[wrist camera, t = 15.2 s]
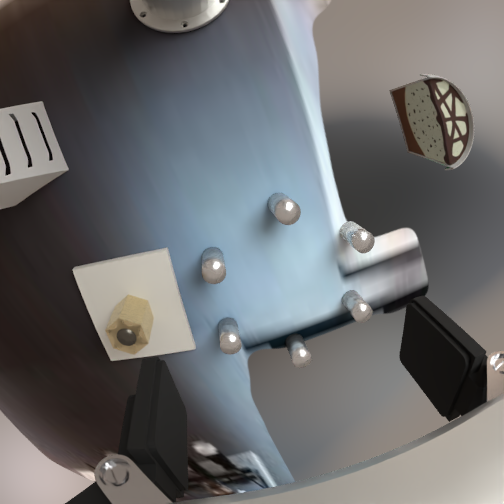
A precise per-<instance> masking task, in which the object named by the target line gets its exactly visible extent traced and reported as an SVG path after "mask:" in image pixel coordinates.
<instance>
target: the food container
mask: <svg viewBox="0 0 504 504" xmlns="http://www.w3.org/2000/svg"><path fill="white" fill-rule="evenodd" d="M420 75H421V76H426V77H427V78H425V79H422V80H419V81H416V82H413V83H410V84H407V85H404V86H401V87H398V88H395V89H392V90H390V94H391V97H392V100H393V103H394V106H395V109H396V112H397V116H398V118H399V122H400V126H401V129H402V133H403V137H404V140H405V144H406V148H407V152H408V153H411V154H414V155H417V156H420V157H423V158H426V159H428V160H432V161H434V162H437V163H440V164H442V165H445V166H447V168H445V170H452V169H454V168H456V167H458V166H459V165H460V164H462V163H463V161H464V160H465V159H466V158H467V156H468V154H469V152H470V149H471V147H472V143H473V138H474V120H473V115H472V111H471V108H470V105H469V103H468V101H467V99H466V97H465V96H464V94H463V93H462V91H461V90H460V89H459V88H458V87H457V86H456V85H455V84H454V83H452V82H451V81H449V80H447V79H445V78H443V77H440V76H437V75H430V74H420Z"/></svg>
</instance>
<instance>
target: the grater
mask: <svg viewBox="0 0 504 504" xmlns="http://www.w3.org/2000/svg"><path fill="white" fill-rule="evenodd" d="M31 112H35V113H36V115H37V116H38V118H39V120H40V123H41V126H42V128H43V131H44V134H45V136H46V139H47V142H48V144H49V147H50V149H51V152H52V157H53V160H51V161H49V152H48V150H47V147H46V145H45V142H44V139H43V137H42V134H41V131H40V129H39V126H38V123H37V120H36V118H35V117H34V116H33V115H32V113H31ZM9 114H11V115H9ZM10 116H12V117H10ZM13 117H14V118H13ZM15 117H16V118H15ZM12 118H13V119H15V120H13V119H12ZM17 120H18V123H19V126H20V129H21V132H22V135H23V137H24V140H25V143H26V146H27V148H28V151H29V153H30V156H31V159H32V167H29V168H28V158H27V155H26V153H25V150H24V148H23V145H22V142H21V139H20V137H19V134H18V131H17V128H16V125H15V121H17ZM0 139H1V142H2V145H3V147H4V150H5V153H6V156H7V158H8V161H9V164H10V170H11V174H9V175H6V176H5V172H6V165H5V162H4V160H3V157H2V154H1V151H0V209H3V208H8V207H12V206H16V205H17V204H18V203H20V202H21V201H22V200H24V199H25V198H27V197H28V196H30V195H31V194H32V193H34V192H35V191H37V190H38V189H40V188H41V187H43V186H44V185H46V184H47V183H49V182H50V181H52V180H53V179H55V178H57V177H58V176H60V175H61V174H63V173H65V172H66V171H68V170H69V169H68V167H67V164H66V162H65V160H64V157H63V155H62V152H61V150H60V147H59V145H58V142H57V140H56V137H55V135H54V132H53V129H52V127H51V124H50V121H49V119H48V116H47V113H46V110H45V107H44V104H43V102H42V101H41V102H35V103H29V104H23V105H18V106H12V107H7V108H3V109H0Z"/></svg>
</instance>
